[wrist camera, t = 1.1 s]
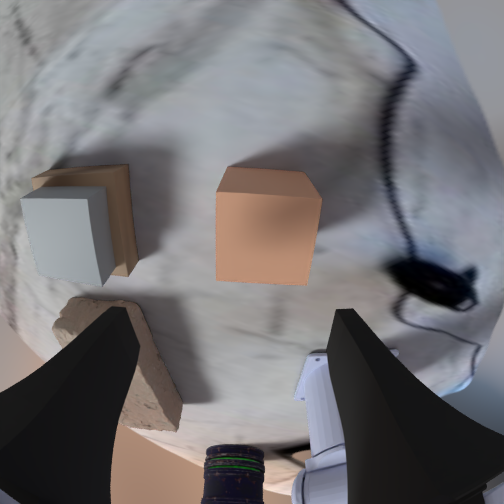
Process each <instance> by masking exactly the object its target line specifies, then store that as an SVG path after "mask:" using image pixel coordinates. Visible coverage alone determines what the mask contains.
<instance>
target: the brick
mask: <svg viewBox="0 0 504 504" xmlns="http://www.w3.org/2000/svg"><path fill="white" fill-rule="evenodd" d="M111 306H117V307H126V309H127V312H128V315H129V318H130V320H131V323H132V326H133V328H134V331H135V333H136V336H137V338H138V341H139V343H140V346H141V347H140V352H139V357H138V362H137V366H136V370H135V373H134V376H133V379H132V382H131V385H130V388H129V391H128V394H127V397H126V400H125V403H124V406H123V409H122V412H121V415H120V418H119V421H118V423H119V424H121V425H124V426H128V427H132V428H139V429H147V430H158V431H162V430H166V431H173V432H177V430H178V428H179V421H180V419H181V412H182V406H183V403H182V400H181V398H180V395H179V393H178V392H177V391H176V390H175V387H176V386H175V384H174V383H173V381H172V379H171V377H170V375H169V372H168V370H167V368H166V367H165V364H164V362H163V360H162V358H161V357H160V354H159V352H158V349H157V347H156V345H155V343H154V341H153V338H152V334H151V332H150V329H149V327H148V325H147V323H146V321H145V318H144V315H143V313H142V311H141V309H140V307H139V306H138V305H137V304H136V303H133V302H129V301H128V302H125V301H123V300H117V301H102V300H99V301H98V300H94V299H87V298H82V297H80V298H71V299H69V300H68V303H67V305H66V306H65V307H64V308H63V309H62V310H61V311H60V318H58V319H57V320H56V321H55V322H54V325H53V327H52V331H53V333H54V335H55V337H56V339H57V340H58V341H59V343H60V345H61V346H62V349H63V348H64V347H65V346H67V345H68V344H69V343H70V342H71V341H72V340H73V339H75V338H76V337H77V336H78V335H79V334H80V333H81V332H82V331H83V330H84V329H86V328H87V327H88V326H89V325H90V324H91V323H92V322H93V321H94V320H96V319H97V318H98V317H99V316H100V315H101V314H102V313H104V312H105V311H106V310H107V309H108V308H110V307H111Z"/></svg>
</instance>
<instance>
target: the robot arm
mask: <svg viewBox="0 0 504 504" xmlns="http://www.w3.org/2000/svg"><path fill="white" fill-rule="evenodd" d="M140 347H141V346H140V343H139V341H138V338H137V336H136V333H135V331H134V328H133V326H132V323H131V320H130V318H129V315H128V312H127V309H126V307H117V306H111V307H110V308H108V309H107V310H106V311H105V312H104V313H102V314H101V315H100V316H99V317H98V318H97V319H96V320H94V321H93V322H92V323H91V324H90V325H89V326H88V327H87V328H86V329H84V330H83V331H82V332H81V333H80V334H79V335H78V336H77V337H76V338H75V339H73V340H72V341H71V342H70V343H69V344H68V345H67V346H65V347H64V348H63V349H62V350H61V351H60V352H58V353H57V354H56V355H55V356H54V357H53V358H51V359H50V360H49V361H48V362H46V363H45V364H44V365H43V366H41V367H40V368H39V369H37V370H36V371H35V372H33V373H32V374H30V375H29V376H27V377H26V378H24V379H23V380H21V381H20V382H18V383H16V384H15V385H13V386H11V387H10V388H8V389H6V390H4V391H2V392H1V393H0V504H111V494H110V482H111V464H112V454H113V447H114V441H115V435H116V429H117V425H118V421H119V418H120V415H121V412H122V409H123V406H124V403H125V400H126V397H127V394H128V391H129V388H130V385H131V382H132V379H133V376H134V373H135V370H136V366H137V362H138V357H139V352H140ZM326 351H327V353H311V354H309V355H308V356H307V358H306V361H305V364H304V368H303V371H302V374H301V377H300V380H299V383H298V386H297V389H296V391H295V394H294V400H296V401H306V410H307V418H308V427H309V436H310V445H311V455H312V458H310V459H306V460H305V464H306V468H305V469H302V470H301V471H300V472H299V473H298V475H297V477H296V478H295V480H294V482H293V486H292V504H504V482H503V483H501V484H499V485H498V486H496V487H495V488H493V489H491V490H489V491H487V492H485V493H484V494H483V493H482V491H484V490H485V489H486V488H487V485H486V483H487V482H488V481H490V480H492V479H493V478H495V477H496V476H498V475H499V474H501V473H502V472H503V471H504V435H502V434H499V433H497V432H495V431H493V430H491V429H488V428H486V427H484V426H482V425H481V424H479V423H477V422H475V421H474V420H472V419H470V418H469V417H467V416H465V415H464V414H462V413H461V412H459V411H458V410H456V409H455V408H453V407H452V406H451V405H449V404H448V403H446V402H445V401H443V400H442V399H441V398H440V397H438V396H437V395H436V394H435V393H433V392H432V391H431V390H430V389H429V388H428V387H426V386H425V385H424V384H423V383H422V382H421V381H420V380H418V379H417V378H416V377H415V376H414V375H413V374H412V373H411V372H410V371H409V370H408V369H407V368H406V367H405V366H404V365H403V364H402V363H401V362H400V361H399V360H398V359H397V357H398V355H399V351H398V350H397V349H392V350H389V349H388V348H387V347H386V346H385V345H384V344H383V342H382V341H381V340H380V339H379V338H378V337H377V336H376V334H375V333H374V332H373V331H372V330H371V329H370V327H369V326H368V325H367V324H366V323H365V322H364V320H363V319H362V318H361V317H360V316H359V315H358V314H357V312H356V311H355V310H354V309H353V308H351V309H336V311H335V316H334V320H333V324H332V329H331V333H330V337H329V341H328V345H327V349H326Z"/></svg>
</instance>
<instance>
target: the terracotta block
mask: <svg viewBox="0 0 504 504" xmlns="http://www.w3.org/2000/svg"><path fill="white" fill-rule="evenodd" d="M322 200H323V199H322V198H321V196H320V195H319V193H318V192H317V190H316V189H315V187H314V186H313V184H312V183H311V181H310V180H309V178H308V177H307V175H306V174H305V173H304V172H297V171H285V170H273V169H259V168H242V167H227V169H226V171H225V173H224V176H223V178H222V180H221V182H220V184H219V187H218V189H217V191H216V281H230V282H247V283H265V284H285V285H307V283H308V278H309V273H310V268H311V263H312V257H313V252H314V247H315V241H316V236H317V230H318V224H319V218H320V212H321V206H322Z"/></svg>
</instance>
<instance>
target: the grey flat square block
mask: <svg viewBox="0 0 504 504" xmlns="http://www.w3.org/2000/svg"><path fill="white" fill-rule="evenodd" d="M20 200H21V205H22V211H23V216H24V221H25V226H26V230H27V234H28V238H29V242H30V246H31V250H32V254H33V257H34V261H35V264H36V268H37V271H38V274H39V275H40V276H45V277H50V278H55V279H60V280H66V281H71V282H77V283H82V284H88V285H94V286H100V287H103V285H104V284H105V282H106V281H107V279H108V278H109V277H110V275H111V274H112V272H113V271H114V269H115V268H116V264H115V258H114V252H113V246H112V239H111V231H110V223H109V214H108V204H107V192H106V186H55V187H40V188H38V189H36V190H34V191H32V192H31V193H29V194H27V195H26V196H24V197H22V198H20Z"/></svg>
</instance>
